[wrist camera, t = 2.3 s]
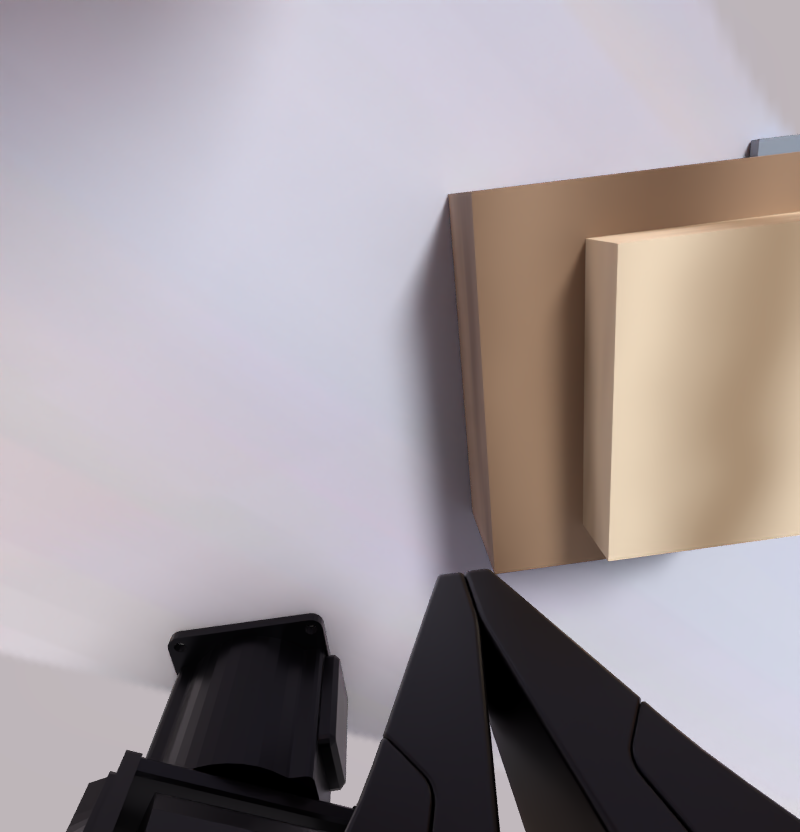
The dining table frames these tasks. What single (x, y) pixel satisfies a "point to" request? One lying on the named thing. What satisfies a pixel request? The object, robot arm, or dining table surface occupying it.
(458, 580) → the robot arm
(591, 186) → the brown wooden flat block
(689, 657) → the dining table surface
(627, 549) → the beige rectangular block
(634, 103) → the dining table surface
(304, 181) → the dining table surface
